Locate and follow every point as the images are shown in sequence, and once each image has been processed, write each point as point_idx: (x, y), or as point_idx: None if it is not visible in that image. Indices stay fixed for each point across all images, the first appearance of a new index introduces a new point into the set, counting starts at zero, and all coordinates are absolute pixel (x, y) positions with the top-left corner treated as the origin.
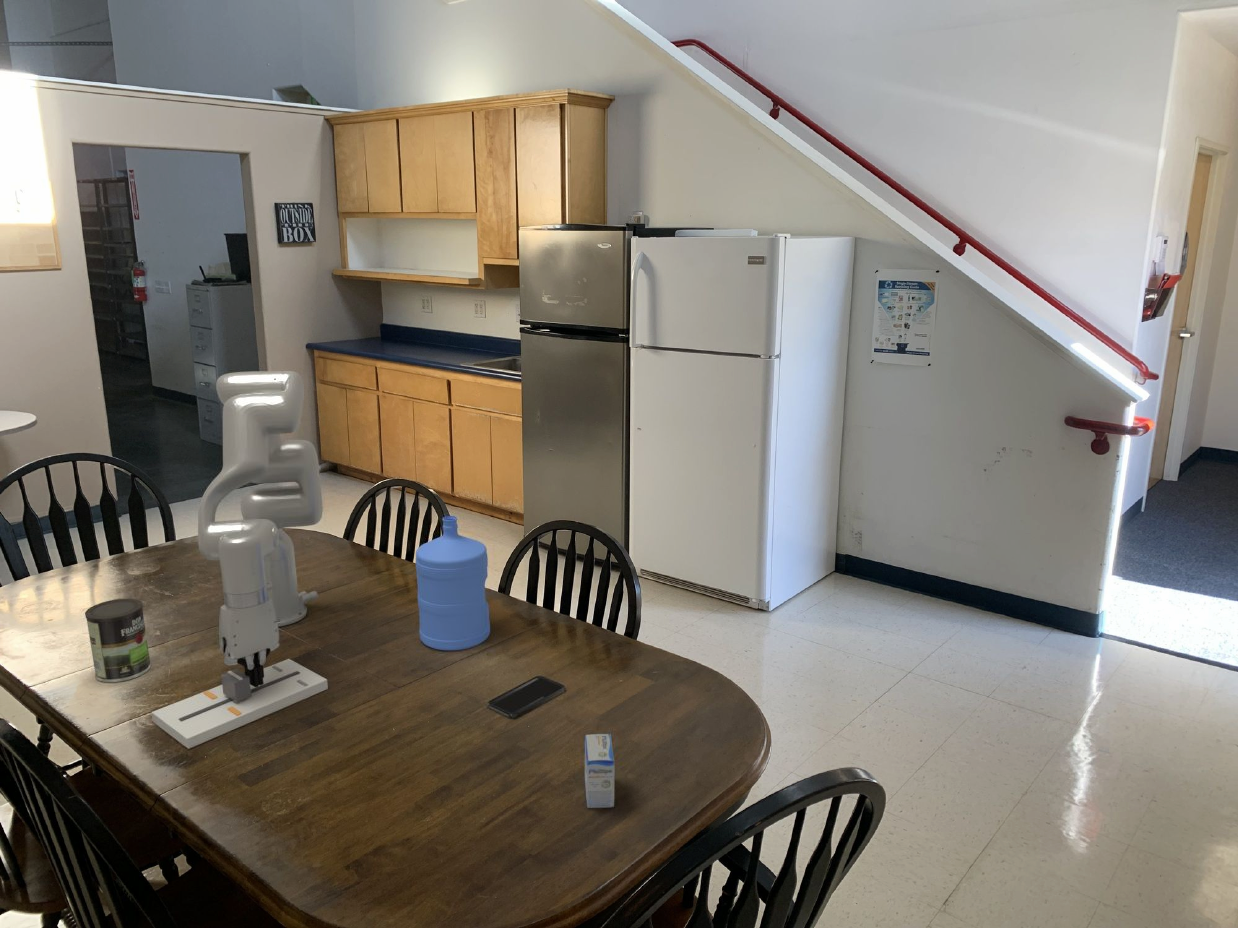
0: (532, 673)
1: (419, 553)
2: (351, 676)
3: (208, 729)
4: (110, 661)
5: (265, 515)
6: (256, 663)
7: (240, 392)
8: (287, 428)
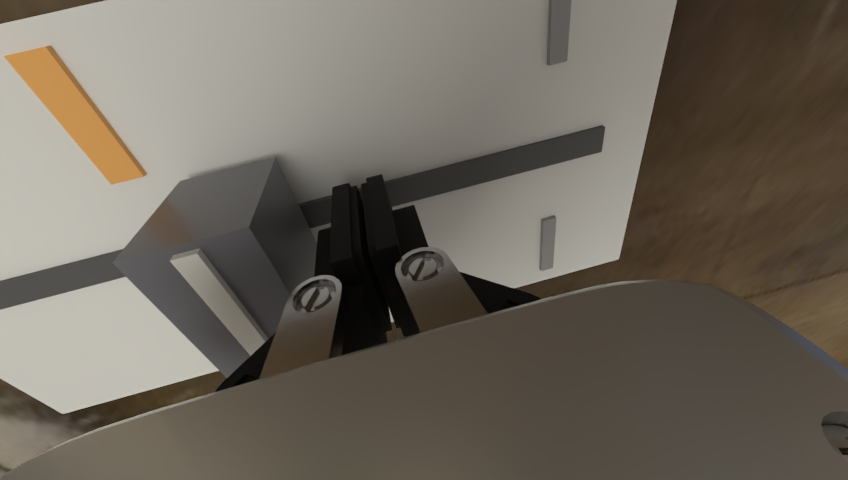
0: (836, 356)
1: None
2: (700, 196)
3: (144, 389)
4: None
5: None
6: (401, 328)
7: None
8: None
